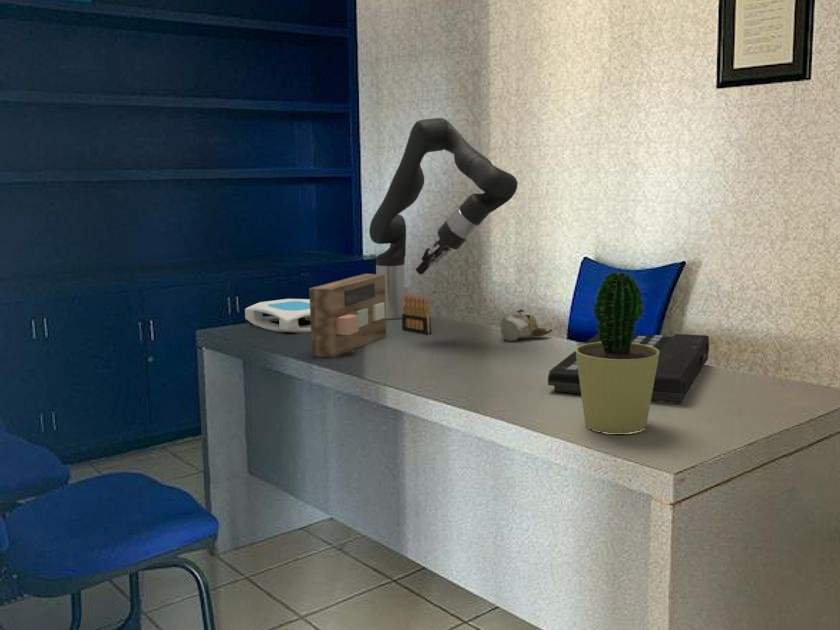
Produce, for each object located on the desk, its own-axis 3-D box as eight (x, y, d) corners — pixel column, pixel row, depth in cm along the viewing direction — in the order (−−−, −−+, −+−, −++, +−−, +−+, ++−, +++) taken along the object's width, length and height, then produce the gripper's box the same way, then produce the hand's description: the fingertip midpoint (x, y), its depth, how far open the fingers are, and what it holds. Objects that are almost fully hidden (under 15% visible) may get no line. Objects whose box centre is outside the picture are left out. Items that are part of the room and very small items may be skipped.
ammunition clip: (431, 334, 253) (430, 293, 251) (427, 335, 252) (426, 294, 249) (406, 329, 260) (405, 290, 258) (401, 330, 259) (400, 291, 257)
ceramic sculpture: (490, 308, 242) (528, 305, 251) (489, 338, 244) (526, 334, 253) (516, 313, 234) (555, 310, 243) (515, 345, 235) (553, 340, 244)
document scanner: (287, 335, 256) (286, 315, 255) (244, 323, 277) (243, 303, 276) (347, 326, 268) (346, 306, 267) (301, 314, 290) (300, 296, 289)
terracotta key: (330, 333, 227) (329, 317, 226) (340, 329, 232) (340, 313, 231) (348, 335, 224) (347, 318, 224) (358, 331, 229) (358, 315, 228)
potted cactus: (557, 427, 163) (558, 270, 158) (603, 409, 174) (606, 262, 169) (628, 444, 153) (632, 277, 147) (672, 425, 163) (677, 267, 158)
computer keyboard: (597, 352, 227) (598, 327, 226) (708, 360, 215) (709, 334, 214) (547, 395, 187) (547, 365, 186) (680, 408, 175) (681, 376, 174)
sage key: (341, 326, 237) (340, 310, 236) (351, 322, 242) (350, 307, 241) (358, 327, 234) (358, 311, 234) (368, 323, 239) (367, 308, 238)
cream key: (359, 319, 246) (358, 304, 245) (368, 316, 250) (367, 301, 250) (376, 321, 243) (375, 305, 243) (384, 317, 248) (384, 302, 247)
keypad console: (312, 355, 228) (309, 288, 224) (366, 334, 254) (364, 273, 251) (334, 357, 225) (331, 289, 222) (387, 335, 251) (385, 274, 248)
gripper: (458, 216, 237) (420, 259, 245) (439, 220, 225) (399, 265, 233) (476, 235, 236) (437, 278, 243) (458, 240, 224) (417, 285, 232)
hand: (418, 272), depth 238 cm, fingers closed
